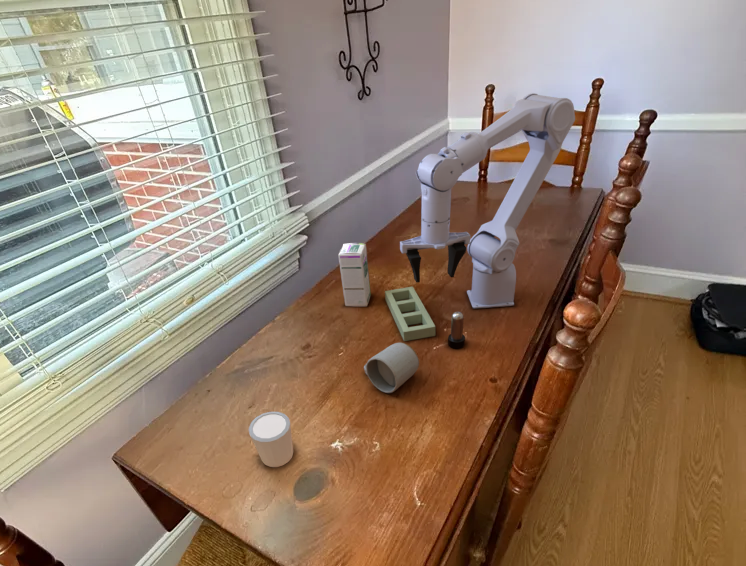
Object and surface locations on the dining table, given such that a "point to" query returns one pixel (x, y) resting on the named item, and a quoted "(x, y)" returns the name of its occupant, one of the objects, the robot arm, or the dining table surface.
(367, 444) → the dining table surface
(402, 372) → the ceramic mug
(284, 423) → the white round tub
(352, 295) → the syrup box
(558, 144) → the robot arm
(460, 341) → the silver rounded cylinder
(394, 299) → the rack
